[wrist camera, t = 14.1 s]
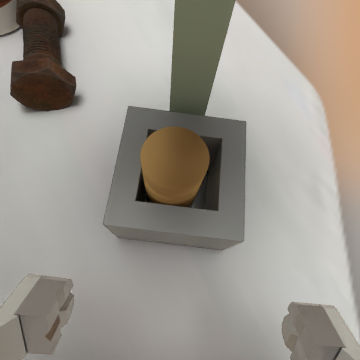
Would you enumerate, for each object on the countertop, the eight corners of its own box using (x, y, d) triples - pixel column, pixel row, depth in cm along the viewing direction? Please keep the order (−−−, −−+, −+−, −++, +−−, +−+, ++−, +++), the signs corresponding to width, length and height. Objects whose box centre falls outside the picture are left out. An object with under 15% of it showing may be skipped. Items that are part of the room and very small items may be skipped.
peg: (144, 218, 22) (134, 184, 14) (151, 176, 24) (146, 122, 15) (189, 224, 22) (206, 194, 14) (193, 182, 24) (212, 131, 15)
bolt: (59, 20, 32) (66, 117, 27) (11, 3, 29) (9, 108, 24) (68, -26, 28) (80, 78, 23) (14, -51, 25) (12, 61, 20)
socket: (117, 237, 22) (102, 224, 16) (135, 144, 25) (128, 105, 19) (222, 250, 22) (243, 241, 16) (227, 155, 25) (246, 121, 19)
